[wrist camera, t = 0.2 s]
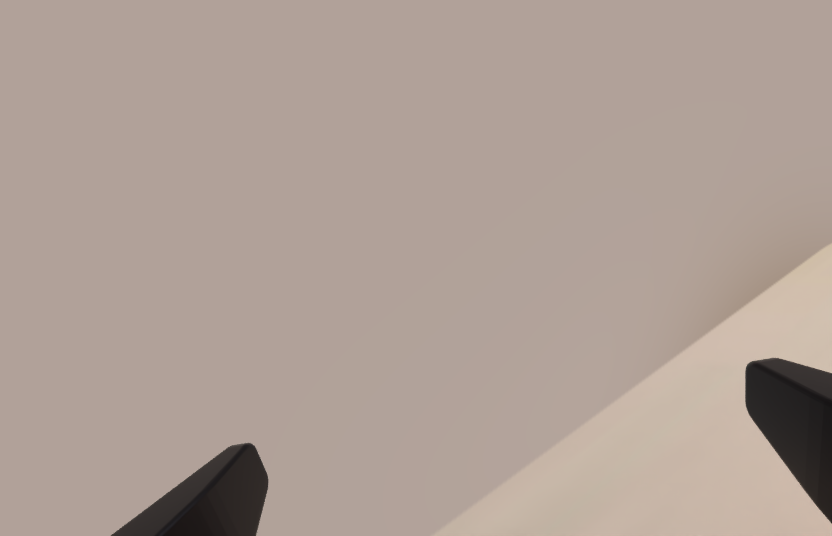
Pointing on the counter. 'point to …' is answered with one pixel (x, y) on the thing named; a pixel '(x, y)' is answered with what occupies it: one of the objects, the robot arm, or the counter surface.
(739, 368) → the counter surface
